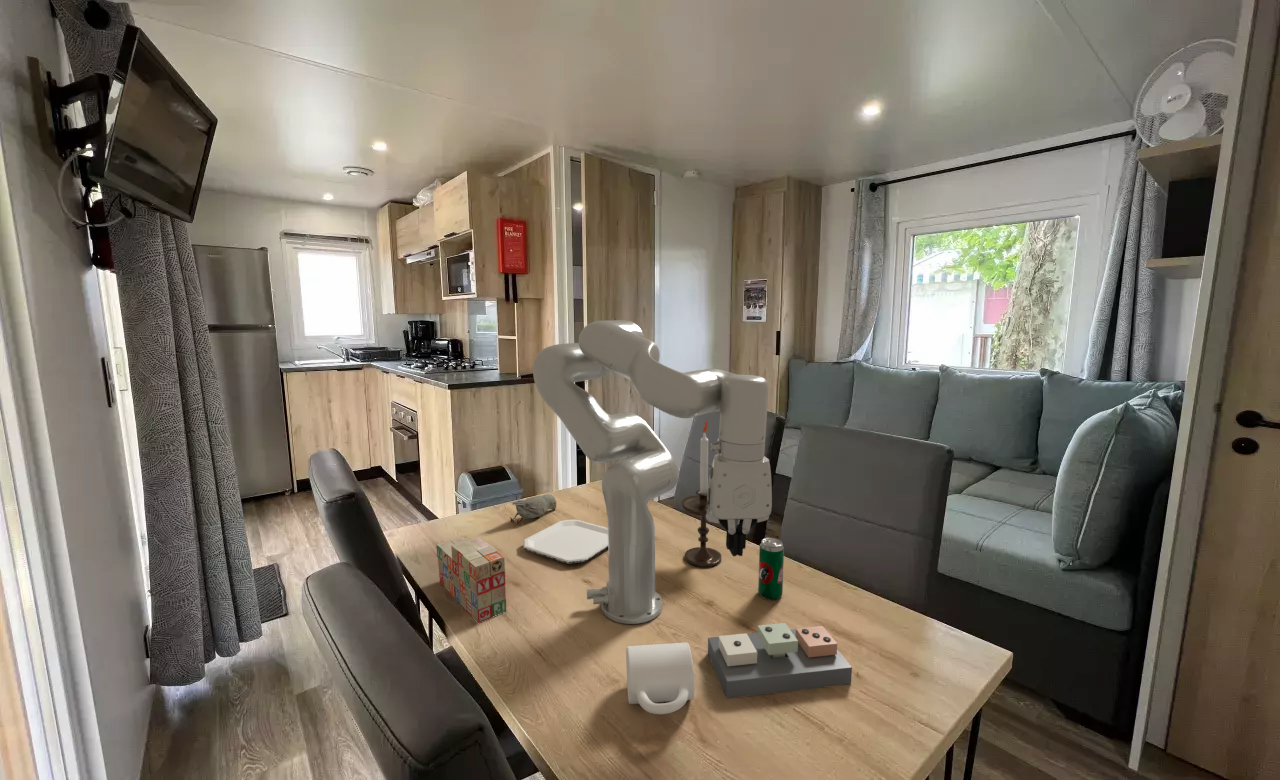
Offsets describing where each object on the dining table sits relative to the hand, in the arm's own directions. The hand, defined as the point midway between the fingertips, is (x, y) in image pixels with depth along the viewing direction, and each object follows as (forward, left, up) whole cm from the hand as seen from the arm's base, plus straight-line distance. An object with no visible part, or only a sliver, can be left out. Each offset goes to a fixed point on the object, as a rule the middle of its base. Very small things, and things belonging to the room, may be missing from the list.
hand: (735, 552), depth 88 cm
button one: (-1, -4, -19) cm, 20 cm away
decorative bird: (-39, +68, -20) cm, 81 cm away
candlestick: (+4, +36, -20) cm, 41 cm away
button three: (+13, -4, -19) cm, 24 cm away
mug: (-15, -9, -20) cm, 26 cm away
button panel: (+6, -4, -19) cm, 21 cm away
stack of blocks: (-50, +27, -20) cm, 60 cm away
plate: (-28, +49, -20) cm, 59 cm away
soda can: (+14, +18, -20) cm, 30 cm away
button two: (+6, -4, -18) cm, 19 cm away
